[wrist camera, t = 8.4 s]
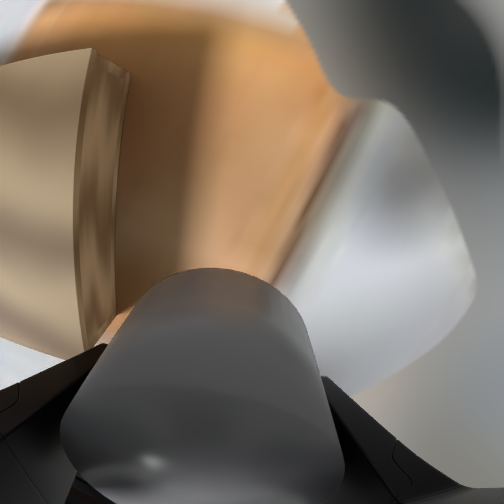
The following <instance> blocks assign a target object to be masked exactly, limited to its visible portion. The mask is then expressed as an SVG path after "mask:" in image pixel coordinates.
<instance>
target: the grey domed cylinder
mask: <svg viewBox="0 0 504 504" xmlns="http://www.w3.org/2000/svg"><path fill="white" fill-rule="evenodd" d="M60 438H61V443H62V446H63V449H64V451H65V453H66V455H67V457H68V459H69V461H70V462H71V464H72V465H73V466H74V468H75V469H76V470H77V472H78V473H79V474H80V475H81V476H82V477H83V478H84V479H85V480H86V481H87V482H88V483H89V484H90V485H91V486H92V487H94V488H95V489H96V490H97V491H99V492H100V493H101V494H102V495H104V496H105V497H107V498H108V499H110V500H111V501H113V502H115V503H116V504H324V503H326V502H327V501H328V500H329V499H330V498H331V497H332V496H333V495H334V494H335V493H336V491H337V490H338V488H339V486H340V485H341V483H342V480H343V477H344V471H345V464H344V458H343V454H342V450H341V447H340V443H339V439H338V436H337V432H336V429H335V425H334V421H333V418H332V414H331V411H330V407H329V404H328V400H327V397H326V393H325V390H324V386H323V383H322V379H321V376H320V373H319V369H318V366H317V362H316V359H315V356H314V352H313V349H312V346H311V342H310V339H309V336H308V332H307V329H306V326H305V324H304V322H303V319H302V317H301V315H300V314H299V312H298V311H297V309H296V308H295V306H294V305H293V304H292V303H291V302H290V300H289V299H288V298H287V297H285V296H284V295H283V294H282V293H281V292H280V291H279V290H277V289H276V288H274V287H273V286H271V285H270V284H268V283H267V282H265V281H263V280H261V279H259V278H257V277H254V276H251V275H249V274H246V273H243V272H239V271H234V270H230V269H221V268H199V269H192V270H187V271H183V272H180V273H176V274H174V275H172V276H169V277H167V278H165V279H163V280H162V281H160V282H158V283H157V284H155V285H154V286H153V287H151V288H150V289H149V290H148V291H147V292H146V293H145V294H144V295H143V296H142V298H141V299H140V300H139V301H138V303H137V304H136V305H135V307H134V308H133V310H132V311H131V312H130V314H129V315H128V317H127V318H126V320H125V321H124V323H123V324H122V325H121V327H120V328H119V330H118V331H117V333H116V334H115V336H114V337H113V339H112V340H111V341H110V343H109V344H108V346H107V347H106V349H105V350H104V352H103V353H102V355H101V356H100V358H99V359H98V361H97V362H96V364H95V366H94V367H93V369H92V370H91V372H90V373H89V375H88V376H87V378H86V379H85V381H84V383H83V384H82V386H81V387H80V389H79V390H78V392H77V394H76V395H75V397H74V398H73V400H72V402H71V403H70V405H69V407H68V408H67V410H66V411H65V413H64V416H63V418H62V420H61V425H60Z"/></svg>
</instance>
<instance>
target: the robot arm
mask: <svg viewBox="0 0 504 504" xmlns="http://www.w3.org/2000/svg"><path fill="white" fill-rule="evenodd" d="M107 346H108V344H105V343H102V344H99V345H97V346H95V347H93V348H91V349H89V350H87V351H85V352H82V353H80V354H78V355H76V356H74V357H72V358H70V359H68V360H66V361H63V362H61V363H59V364H57V365H55V366H53V367H51V368H48V369H46V370H44V371H42V372H40V373H38V374H36V375H33V376H31V377H29V378H27V379H25V380H23V381H21V382H20V383H16V384H14V385H11V386H9V387H7V388H5V389H2V390H0V504H116V503H115V502H113V501H111V500H110V499H108V498H107V497H105V496H104V495H102V494H101V493H100V492H99V491H97V490H96V489H95V488H94V487H92V486H91V485H90V484H89V483H88V482H87V481H86V480H85V479H84V478H83V477H82V476H81V475H80V474H79V473H78V472H77V470H76V469H75V468H74V466H73V465H72V464H71V462H70V461H69V459H68V457H67V455H66V453H65V451H64V449H63V446H62V443H61V438H60V425H61V420H62V418H63V416H64V413H65V411H66V410H67V408H68V407H69V405H70V403H71V402H72V400H73V398H74V397H75V395H76V394H77V392H78V390H79V389H80V387H81V386H82V384H83V383H84V381H85V379H86V378H87V376H88V375H89V373H90V372H91V370H92V369H93V367H94V366H95V364H96V362H97V361H98V359H99V358H100V356H101V355H102V353H103V352H104V350H105V349H106V347H107ZM321 379H322V383H323V386H324V390H325V393H326V397H327V400H328V404H329V407H330V411H331V414H332V418H333V421H334V425H335V429H336V432H337V436H338V439H339V443H340V447H341V450H342V454H343V458H344V464H345V471H344V477H343V480H342V483H341V485H340V486H339V488H338V490H337V491H336V493H335V494H334V495H333V496H332V497H331V498H330V499H329V500H328V501H327V502H326V503H324V504H504V488H470V487H466V486H463V485H461V484H459V483H457V482H455V481H454V480H452V479H451V478H449V477H448V476H446V475H445V474H443V473H442V472H440V471H439V470H437V469H435V468H434V467H433V466H431V465H430V464H428V463H427V462H425V461H424V460H423V459H421V458H420V457H418V456H417V455H416V454H415V453H413V452H412V451H411V450H410V449H408V448H407V447H406V446H405V445H404V444H402V443H401V442H400V441H399V440H396V438H395V437H394V436H393V435H392V434H391V433H390V432H388V431H387V430H386V429H385V428H384V427H383V426H382V425H380V424H379V423H378V422H377V421H376V420H375V419H374V418H373V417H371V416H370V415H369V414H368V413H367V412H366V411H365V410H364V409H363V408H361V407H360V406H359V405H358V404H357V403H356V402H355V401H354V400H353V399H351V398H350V397H349V396H348V395H347V394H346V393H345V392H344V391H343V390H342V389H340V388H339V387H338V386H337V385H336V384H335V383H334V382H333V381H332V380H331V379H330V378H328V377H326V376H321Z"/></svg>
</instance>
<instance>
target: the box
mask: <svg viewBox="0 0 504 504" xmlns="http://www.w3.org/2000/svg"><path fill="white" fill-rule="evenodd" d="M130 77H131V73H129V72H127V71H126V70H124V69H123V68H121V67H119V66H118V65H116V64H114V63H113V62H111V61H109V60H108V59H106V58H104V57H102V56H101V55H99V54H97V55H96V60H95V65H94V70H93V75H92V80H91V86H90V92H89V98H88V104H87V111H86V119H85V127H84V135H83V145H82V157H81V171H80V192H79V251H80V272H81V286H82V298H83V308H84V317H85V325H86V333H87V340H88V346H89V349H91V348H93V347H94V345H95V344H96V343H97V341H98V340H99V338H100V337H101V336H102V334H103V333H104V332H105V330H106V329H107V328H108V326H109V325H110V324H111V322H112V321H113V320H114V318H115V317H116V296H115V212H116V193H117V178H118V166H119V155H120V145H121V137H122V128H123V121H124V114H125V107H126V100H127V94H128V88H129V82H130Z"/></svg>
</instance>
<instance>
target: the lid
mask: <svg viewBox="0 0 504 504" xmlns="http://www.w3.org/2000/svg"><path fill="white" fill-rule="evenodd" d="M96 55H97V51H96V50H95V49H93V48H87V49H79V50H72V51H66V52H60V53H54V54H49V55H43V56H39V57H34V58H29V59H25V60H21V61H17V62H13V63H9V64H5V65H2V66H0V337H2V338H4V339H7V340H9V341H12V342H15V343H17V344H20V345H23V346H25V347H28V348H31V349H34V350H37V351H39V352H42V353H45V354H48V355H51V356H54V357H58V358H61V359H64V360H68V359H70V358H72V357H74V356H76V355H78V354H80V353H82V352H85V351H87V350H89V346H88V340H87V333H86V325H85V317H84V308H83V298H82V286H81V272H80V251H79V192H80V171H81V157H82V145H83V135H84V127H85V119H86V111H87V104H88V98H89V92H90V86H91V80H92V75H93V70H94V65H95V60H96Z"/></svg>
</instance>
